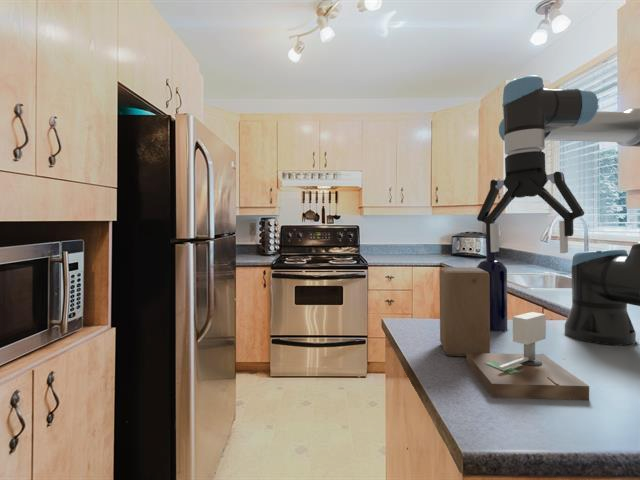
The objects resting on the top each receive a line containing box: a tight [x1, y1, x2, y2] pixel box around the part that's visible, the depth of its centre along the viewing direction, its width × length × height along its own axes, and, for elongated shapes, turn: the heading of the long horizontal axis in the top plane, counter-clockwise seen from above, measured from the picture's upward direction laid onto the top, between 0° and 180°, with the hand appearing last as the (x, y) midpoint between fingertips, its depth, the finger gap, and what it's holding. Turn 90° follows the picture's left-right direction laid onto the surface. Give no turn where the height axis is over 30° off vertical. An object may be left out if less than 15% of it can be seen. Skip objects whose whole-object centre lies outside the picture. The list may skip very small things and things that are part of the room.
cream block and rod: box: [499, 311, 547, 370], centre depth 73 cm, size 3×14×9 cm, turn 122°
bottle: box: [476, 234, 508, 333], centre depth 109 cm, size 9×9×30 cm
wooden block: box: [438, 266, 491, 358], centre depth 89 cm, size 10×10×20 cm
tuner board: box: [466, 352, 590, 401], centre depth 72 cm, size 16×16×3 cm
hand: (527, 252), depth 79 cm, fingers open, 13 cm apart
